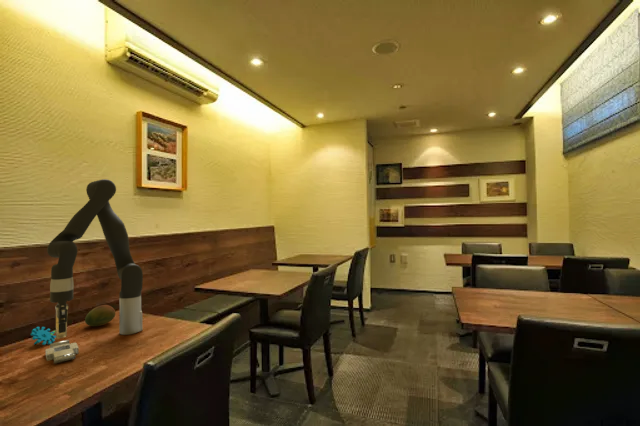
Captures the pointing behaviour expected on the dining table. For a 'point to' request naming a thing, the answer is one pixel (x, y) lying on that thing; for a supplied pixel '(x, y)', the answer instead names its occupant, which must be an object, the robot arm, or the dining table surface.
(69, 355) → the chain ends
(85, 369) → the dining table surface
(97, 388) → the dining table surface
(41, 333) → the gear
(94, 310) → the fruit
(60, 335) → the pin
